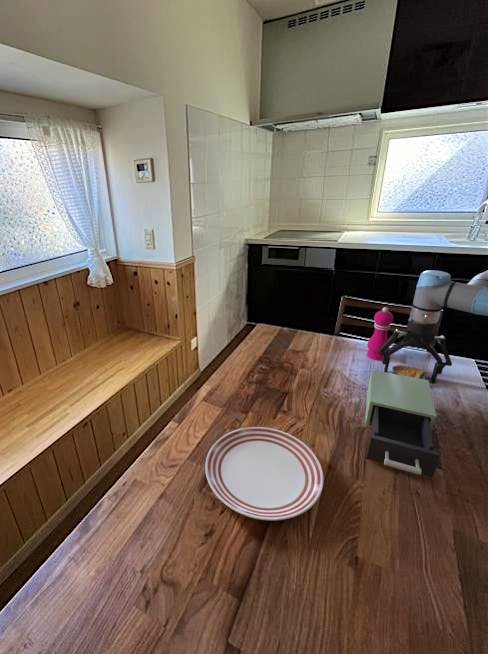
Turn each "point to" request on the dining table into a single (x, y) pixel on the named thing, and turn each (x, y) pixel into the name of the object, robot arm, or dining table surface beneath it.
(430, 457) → the drawer
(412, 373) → the pastry
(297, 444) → the dinner plate
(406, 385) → the mint green cabinet
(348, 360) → the dining table surface
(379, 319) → the pepper mill
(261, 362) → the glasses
